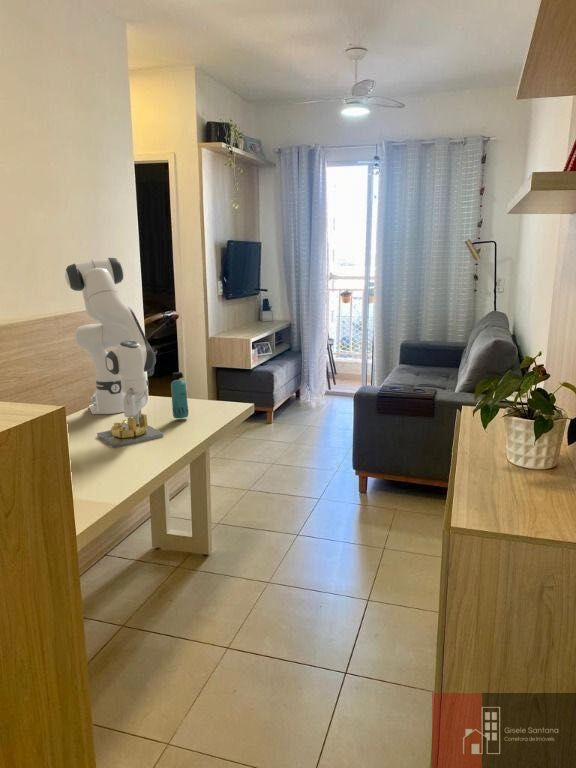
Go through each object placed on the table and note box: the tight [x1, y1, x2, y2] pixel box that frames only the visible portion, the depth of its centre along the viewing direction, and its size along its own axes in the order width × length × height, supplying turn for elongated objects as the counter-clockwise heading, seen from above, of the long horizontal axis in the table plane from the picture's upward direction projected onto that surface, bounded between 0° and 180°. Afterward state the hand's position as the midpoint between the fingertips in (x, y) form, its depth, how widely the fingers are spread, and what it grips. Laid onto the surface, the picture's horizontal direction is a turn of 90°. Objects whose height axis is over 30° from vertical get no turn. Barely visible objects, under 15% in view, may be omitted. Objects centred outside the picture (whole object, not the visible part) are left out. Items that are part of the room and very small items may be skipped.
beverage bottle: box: [170, 371, 190, 419], centre depth 232 cm, size 6×7×20 cm
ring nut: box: [110, 413, 148, 438], centre depth 212 cm, size 13×12×7 cm
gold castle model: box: [96, 423, 164, 449], centre depth 213 cm, size 18×19×5 cm
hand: (137, 422), depth 209 cm, fingers closed
